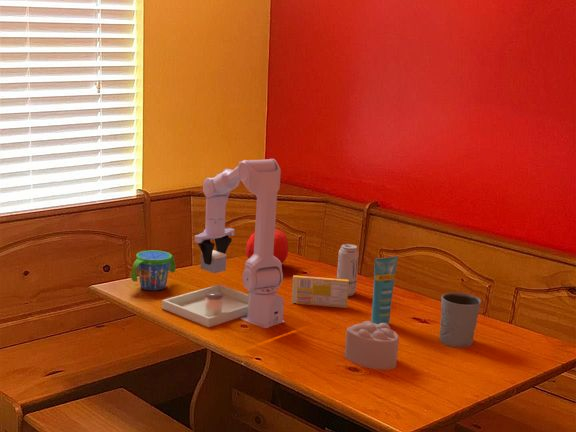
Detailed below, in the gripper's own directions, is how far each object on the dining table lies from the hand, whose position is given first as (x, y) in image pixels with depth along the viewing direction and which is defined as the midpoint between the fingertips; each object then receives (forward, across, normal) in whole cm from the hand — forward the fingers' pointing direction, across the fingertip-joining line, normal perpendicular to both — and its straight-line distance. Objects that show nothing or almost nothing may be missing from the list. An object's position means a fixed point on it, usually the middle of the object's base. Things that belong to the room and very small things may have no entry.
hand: (213, 262), depth 248 cm
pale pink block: (+2, 0, 0) cm, 2 cm away
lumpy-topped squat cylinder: (+9, +6, +63) cm, 64 cm away
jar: (+8, +17, +18) cm, 26 cm away
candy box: (+9, -15, +29) cm, 34 cm away
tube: (+9, -16, +50) cm, 53 cm away
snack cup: (+9, +12, -13) cm, 20 cm away
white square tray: (+9, +12, +13) cm, 20 cm away
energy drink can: (+9, -29, +28) cm, 41 cm away
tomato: (+9, -29, -5) cm, 31 cm away
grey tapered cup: (+9, -21, +71) cm, 75 cm away
